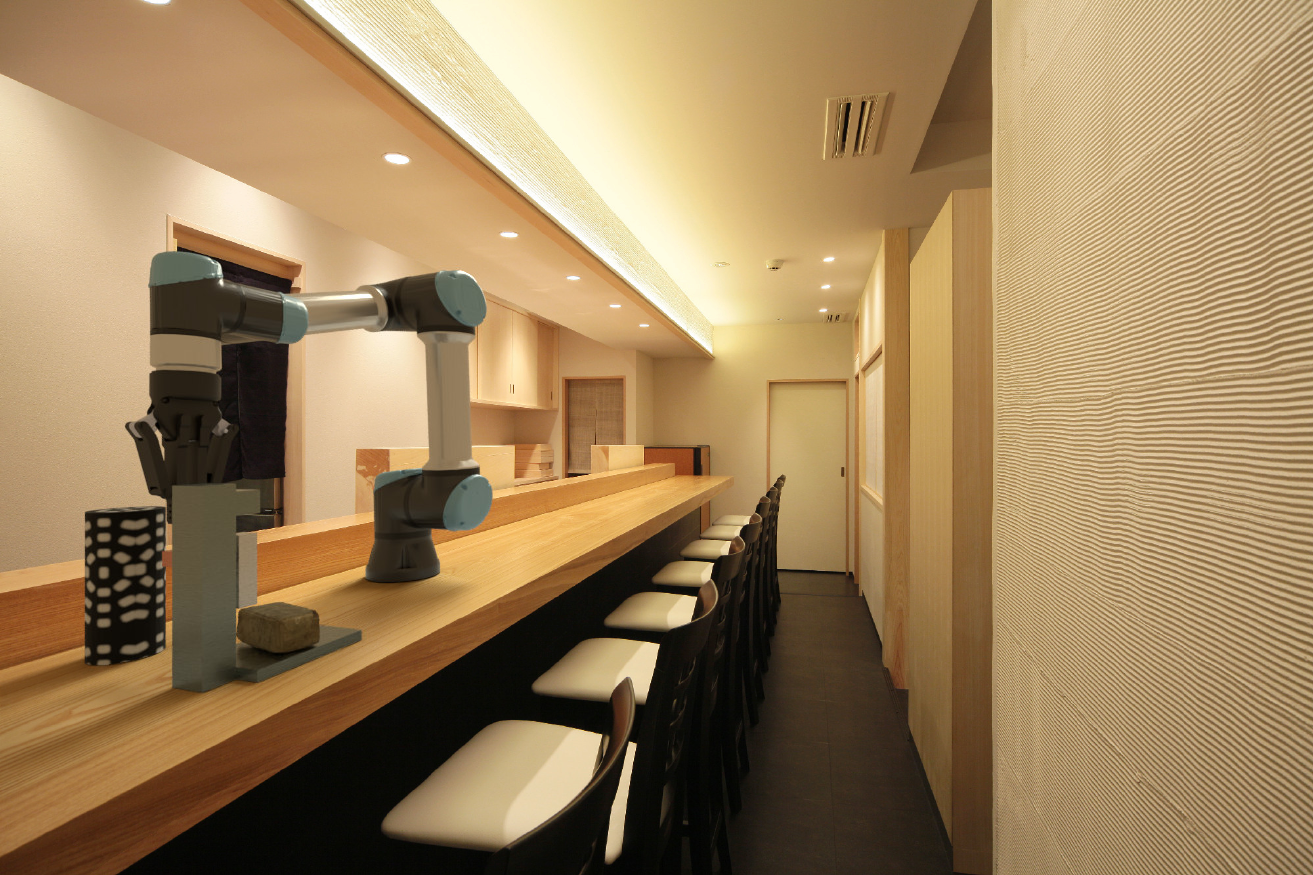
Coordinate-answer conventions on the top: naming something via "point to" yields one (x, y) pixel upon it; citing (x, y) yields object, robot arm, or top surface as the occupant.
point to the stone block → (278, 627)
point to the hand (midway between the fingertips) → (185, 547)
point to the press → (220, 595)
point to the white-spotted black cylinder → (124, 584)
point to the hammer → (238, 568)
